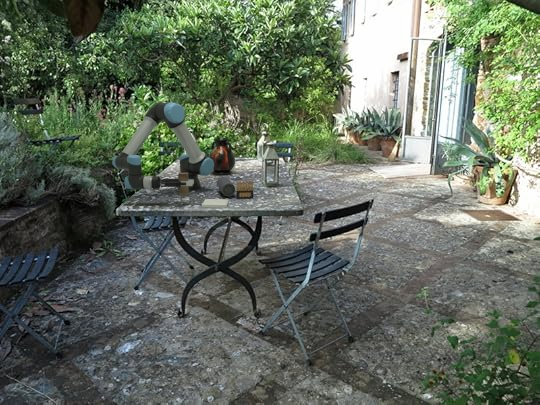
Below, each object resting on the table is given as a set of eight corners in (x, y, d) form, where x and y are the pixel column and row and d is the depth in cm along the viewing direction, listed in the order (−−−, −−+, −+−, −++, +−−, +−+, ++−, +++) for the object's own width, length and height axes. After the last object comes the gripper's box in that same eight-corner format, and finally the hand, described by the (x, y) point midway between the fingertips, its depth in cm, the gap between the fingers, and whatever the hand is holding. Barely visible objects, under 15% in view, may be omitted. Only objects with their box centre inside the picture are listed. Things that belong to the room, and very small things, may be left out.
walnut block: (180, 193, 266) (179, 172, 263) (189, 193, 266) (188, 172, 263) (179, 194, 262) (178, 174, 259) (187, 194, 262) (186, 174, 259)
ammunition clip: (236, 199, 280) (236, 180, 277) (236, 198, 282) (235, 179, 279) (253, 198, 282) (253, 179, 279) (253, 197, 283) (253, 178, 281)
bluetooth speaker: (215, 191, 302) (215, 176, 300) (229, 190, 304) (229, 175, 302) (221, 198, 281) (221, 182, 278) (236, 197, 283) (236, 182, 281)
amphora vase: (202, 174, 360) (201, 138, 353) (220, 170, 377) (220, 136, 370) (223, 177, 348) (222, 140, 341) (241, 173, 365) (240, 138, 358)
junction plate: (205, 201, 273) (205, 199, 273) (228, 201, 273) (228, 199, 273) (201, 207, 260) (201, 204, 259) (226, 207, 259) (226, 205, 259)
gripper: (156, 185, 272) (195, 186, 272) (148, 192, 255) (190, 192, 255) (155, 173, 270) (195, 173, 270) (148, 179, 254) (189, 179, 253)
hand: (192, 182), depth 262 cm, fingers closed on walnut block, 4 cm apart
